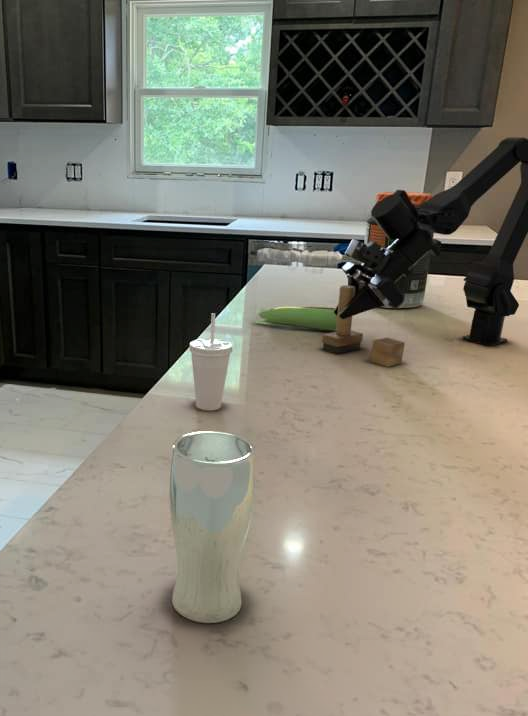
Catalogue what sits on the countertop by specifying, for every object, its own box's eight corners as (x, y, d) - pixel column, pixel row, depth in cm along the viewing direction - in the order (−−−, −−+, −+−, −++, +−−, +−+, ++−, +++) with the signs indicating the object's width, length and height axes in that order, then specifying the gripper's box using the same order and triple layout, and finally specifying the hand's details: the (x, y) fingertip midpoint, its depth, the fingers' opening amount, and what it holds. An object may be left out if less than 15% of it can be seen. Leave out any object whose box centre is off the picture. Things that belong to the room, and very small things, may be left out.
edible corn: (346, 334, 152) (348, 312, 150) (251, 326, 157) (252, 305, 155) (347, 328, 156) (350, 307, 155) (255, 321, 161) (256, 300, 160)
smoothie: (234, 402, 112) (239, 312, 107) (223, 416, 107) (228, 321, 101) (194, 396, 114) (197, 308, 109) (181, 410, 109) (184, 317, 103)
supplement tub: (430, 301, 184) (447, 193, 173) (412, 313, 172) (430, 197, 161) (368, 294, 191) (381, 189, 181) (348, 304, 179) (361, 193, 169)
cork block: (384, 358, 136) (386, 337, 135) (401, 363, 133) (404, 342, 132) (369, 361, 134) (372, 340, 132) (387, 367, 131) (390, 345, 129)
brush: (345, 344, 145) (352, 283, 140) (361, 348, 142) (368, 286, 137) (321, 349, 141) (326, 287, 136) (336, 354, 138) (343, 290, 133)
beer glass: (164, 581, 67) (166, 430, 61) (238, 579, 68) (248, 429, 62) (170, 628, 61) (174, 465, 55) (253, 625, 61) (265, 463, 55)
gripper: (357, 218, 141) (297, 276, 144) (397, 230, 124) (327, 295, 127) (390, 260, 145) (331, 315, 148) (433, 276, 128) (365, 339, 131)
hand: (337, 315), depth 139 cm, fingers closed on brush, 3 cm apart
